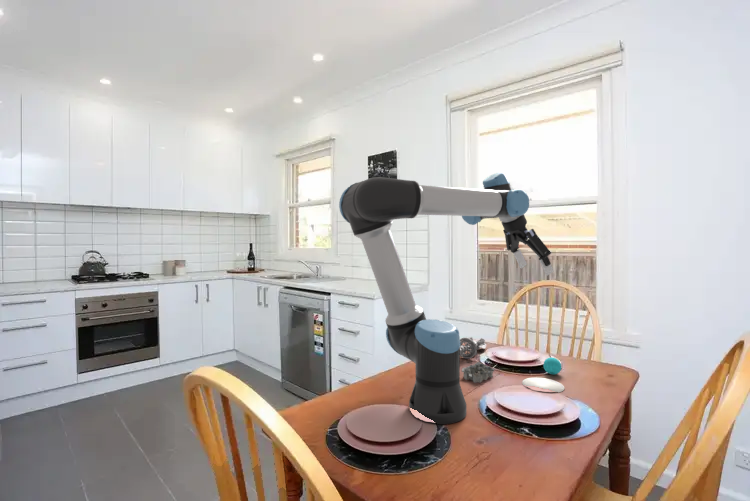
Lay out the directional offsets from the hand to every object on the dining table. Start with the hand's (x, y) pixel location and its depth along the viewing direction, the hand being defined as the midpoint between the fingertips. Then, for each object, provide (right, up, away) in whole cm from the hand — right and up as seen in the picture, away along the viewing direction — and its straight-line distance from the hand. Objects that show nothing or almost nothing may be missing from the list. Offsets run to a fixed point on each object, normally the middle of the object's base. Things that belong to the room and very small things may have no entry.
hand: (536, 269), depth 133 cm
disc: (-4, -35, -14) cm, 38 cm away
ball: (+4, -32, -4) cm, 33 cm away
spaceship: (-21, -35, +13) cm, 43 cm away
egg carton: (-22, -36, -6) cm, 42 cm away
